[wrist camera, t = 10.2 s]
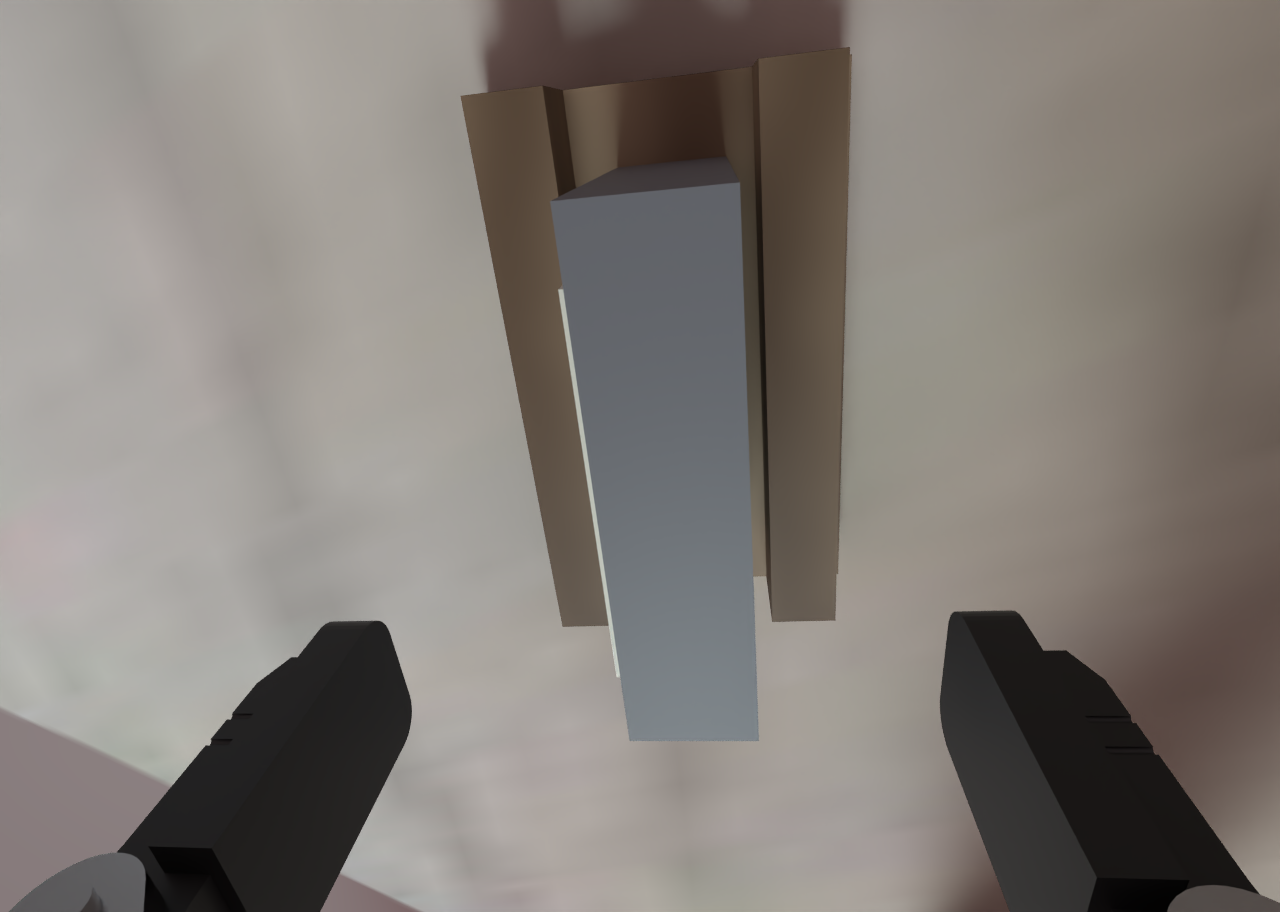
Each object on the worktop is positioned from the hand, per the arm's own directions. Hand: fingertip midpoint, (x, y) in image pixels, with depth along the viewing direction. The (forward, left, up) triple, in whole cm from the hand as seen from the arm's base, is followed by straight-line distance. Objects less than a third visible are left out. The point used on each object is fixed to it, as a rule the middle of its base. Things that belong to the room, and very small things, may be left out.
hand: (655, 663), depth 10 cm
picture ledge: (0, 0, -14) cm, 14 cm away
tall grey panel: (0, 0, -13) cm, 13 cm away
